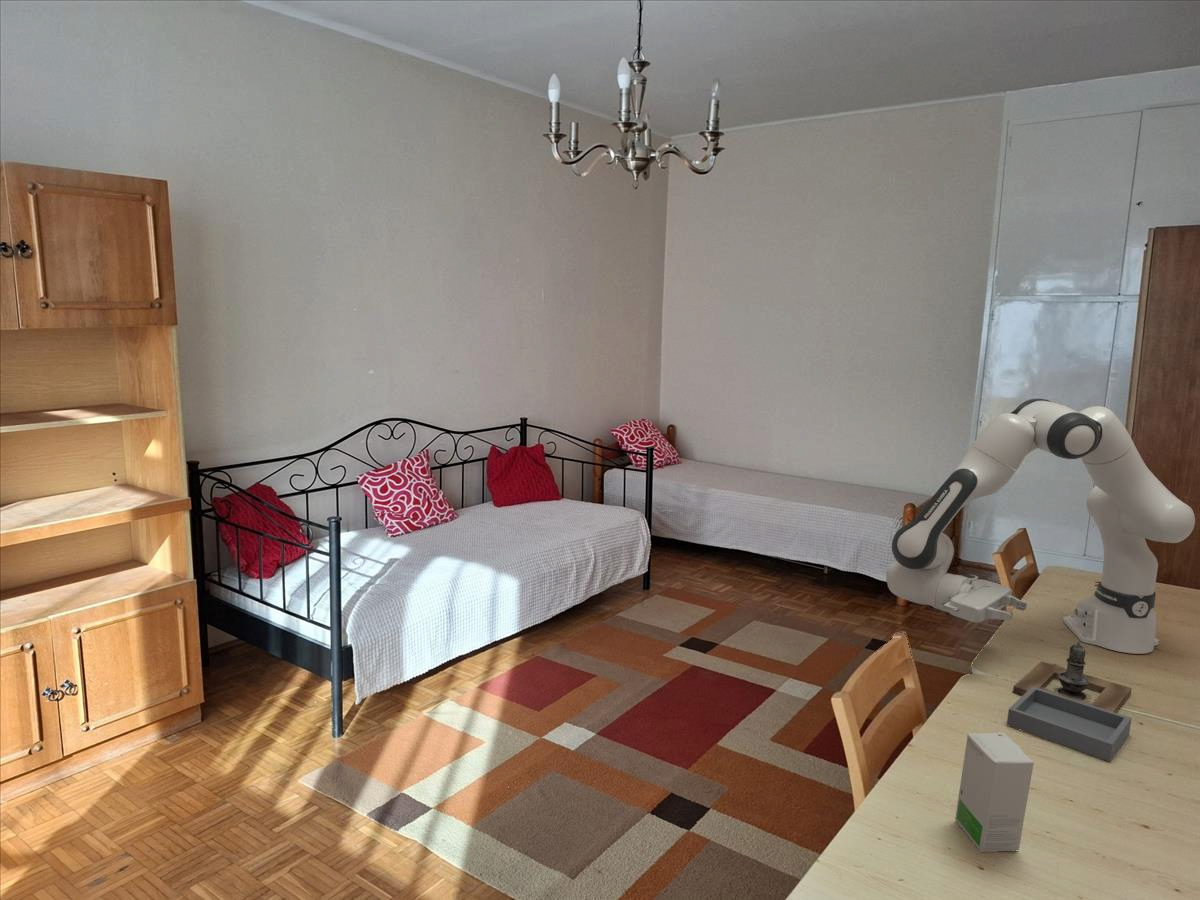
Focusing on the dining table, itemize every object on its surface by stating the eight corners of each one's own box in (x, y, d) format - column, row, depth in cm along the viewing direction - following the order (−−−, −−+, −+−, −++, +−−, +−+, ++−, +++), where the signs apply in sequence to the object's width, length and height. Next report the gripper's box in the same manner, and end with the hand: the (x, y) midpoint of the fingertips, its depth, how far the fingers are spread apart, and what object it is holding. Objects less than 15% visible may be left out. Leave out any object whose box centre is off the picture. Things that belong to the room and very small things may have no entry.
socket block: (1012, 692, 178) (1013, 686, 177) (1040, 667, 190) (1041, 661, 190) (1108, 724, 165) (1109, 717, 165) (1130, 694, 178) (1131, 688, 178)
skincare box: (954, 820, 134) (964, 731, 131) (993, 819, 134) (1004, 730, 131) (981, 855, 125) (993, 761, 123) (1023, 853, 126) (1035, 760, 123)
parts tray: (1006, 725, 164) (1008, 708, 163) (1030, 701, 174) (1032, 686, 173) (1109, 762, 152) (1112, 744, 151) (1129, 734, 161) (1131, 717, 161)
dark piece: (1091, 701, 174) (1099, 648, 172) (1061, 698, 175) (1068, 645, 173) (1081, 689, 180) (1089, 637, 178) (1052, 686, 181) (1059, 634, 179)
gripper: (939, 591, 185) (1003, 609, 175) (974, 572, 199) (1035, 588, 190) (935, 618, 186) (1000, 637, 176) (970, 597, 200) (1032, 614, 191)
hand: (1018, 611), depth 183 cm, fingers open, 8 cm apart
